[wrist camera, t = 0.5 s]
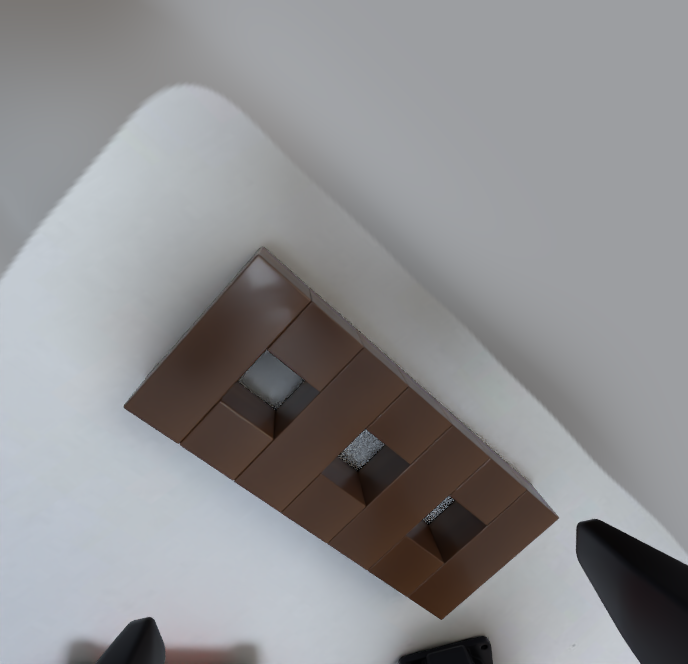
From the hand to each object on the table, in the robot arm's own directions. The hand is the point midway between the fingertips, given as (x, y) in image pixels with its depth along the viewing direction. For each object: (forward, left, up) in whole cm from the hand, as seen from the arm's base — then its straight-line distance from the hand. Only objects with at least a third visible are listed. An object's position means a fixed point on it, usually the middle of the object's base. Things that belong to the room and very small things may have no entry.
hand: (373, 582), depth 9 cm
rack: (-6, -1, -14) cm, 15 cm away
